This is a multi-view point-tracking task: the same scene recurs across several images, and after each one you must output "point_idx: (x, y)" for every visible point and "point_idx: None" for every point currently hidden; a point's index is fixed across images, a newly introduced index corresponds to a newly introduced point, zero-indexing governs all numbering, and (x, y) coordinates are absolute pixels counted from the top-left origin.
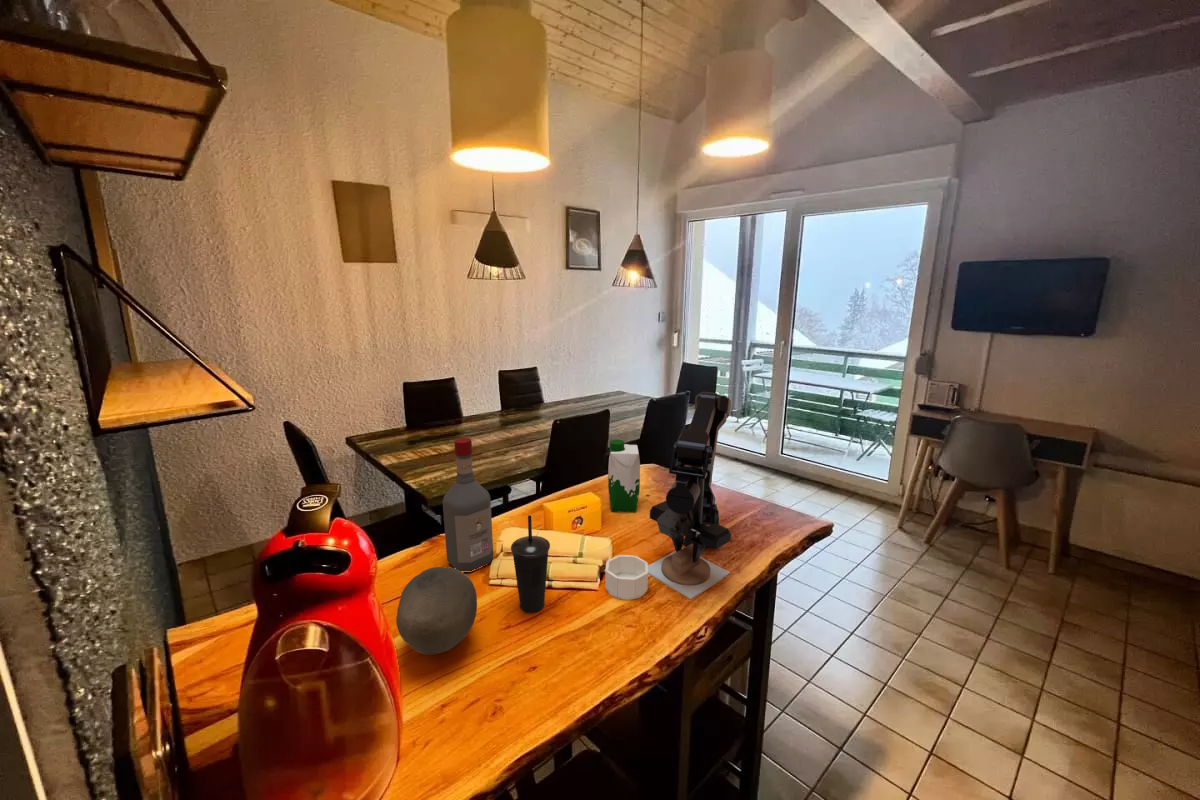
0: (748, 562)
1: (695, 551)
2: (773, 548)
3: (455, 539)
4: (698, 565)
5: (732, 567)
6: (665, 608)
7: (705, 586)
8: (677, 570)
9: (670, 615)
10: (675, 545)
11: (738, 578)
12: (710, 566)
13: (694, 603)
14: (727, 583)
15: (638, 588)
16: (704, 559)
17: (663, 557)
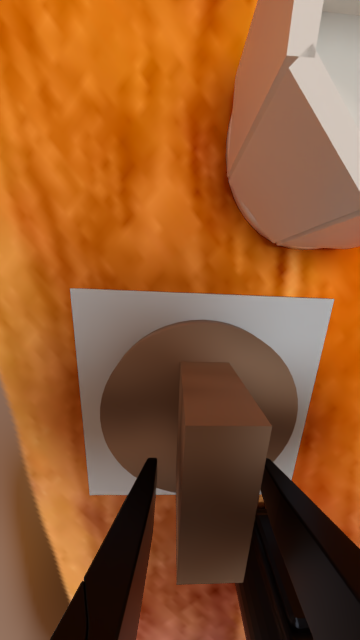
0: None
1: (90, 595)
2: None
3: None
4: (171, 457)
5: (111, 515)
6: (99, 157)
7: (87, 385)
8: (197, 369)
9: (51, 131)
10: (313, 520)
11: (61, 488)
12: None
13: (50, 281)
14: (63, 449)
15: (251, 43)
16: None
17: (306, 412)
